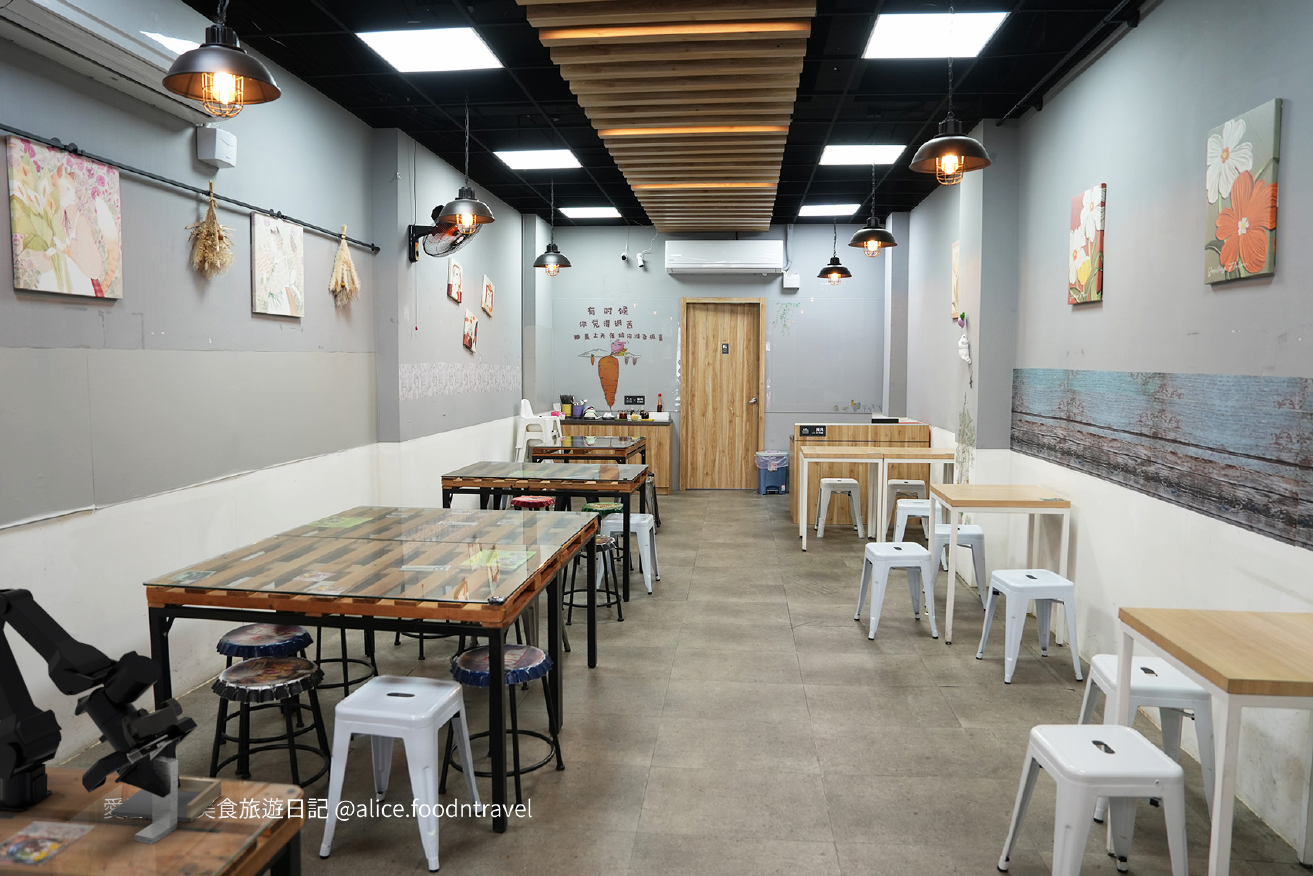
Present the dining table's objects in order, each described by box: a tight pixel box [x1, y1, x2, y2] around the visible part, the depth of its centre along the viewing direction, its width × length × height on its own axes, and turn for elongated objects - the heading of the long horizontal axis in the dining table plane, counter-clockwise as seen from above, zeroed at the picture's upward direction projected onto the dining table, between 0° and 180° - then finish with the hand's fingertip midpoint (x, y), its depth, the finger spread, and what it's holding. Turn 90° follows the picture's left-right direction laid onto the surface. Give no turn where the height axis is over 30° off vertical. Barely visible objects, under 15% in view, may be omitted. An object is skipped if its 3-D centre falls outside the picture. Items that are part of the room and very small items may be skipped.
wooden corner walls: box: [178, 776, 223, 823], centre depth 145 cm, size 14×9×3 cm, turn 88°
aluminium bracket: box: [134, 756, 179, 845], centre depth 135 cm, size 4×5×12 cm
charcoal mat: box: [110, 788, 222, 823], centre depth 145 cm, size 14×9×1 cm, turn 88°
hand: (172, 792), depth 137 cm, fingers open, 2 cm apart
